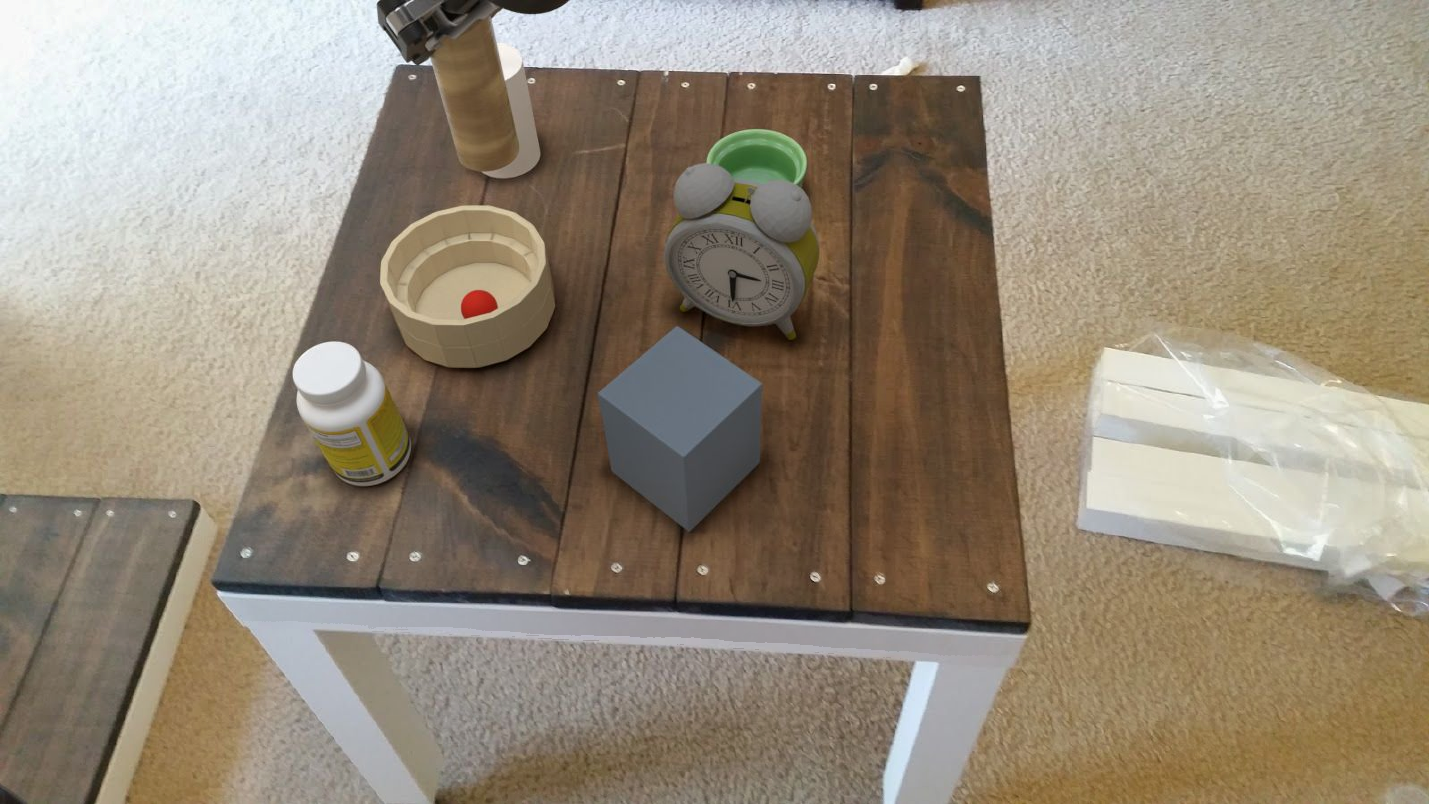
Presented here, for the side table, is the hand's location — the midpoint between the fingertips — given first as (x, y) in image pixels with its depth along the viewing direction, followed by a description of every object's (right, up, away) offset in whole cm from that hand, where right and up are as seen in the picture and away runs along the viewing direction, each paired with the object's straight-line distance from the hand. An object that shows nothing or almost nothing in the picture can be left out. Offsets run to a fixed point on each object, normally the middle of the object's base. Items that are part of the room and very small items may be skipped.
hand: (440, 29), depth 63 cm
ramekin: (+20, -3, +34) cm, 40 cm away
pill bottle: (-10, -26, +18) cm, 34 cm away
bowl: (-4, -15, +27) cm, 31 cm away
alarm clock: (+19, -14, +26) cm, 36 cm away
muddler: (+2, -6, +6) cm, 8 cm away
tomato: (-3, -14, +24) cm, 28 cm away
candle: (-3, +1, +38) cm, 39 cm away
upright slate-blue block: (+14, -27, +17) cm, 35 cm away
